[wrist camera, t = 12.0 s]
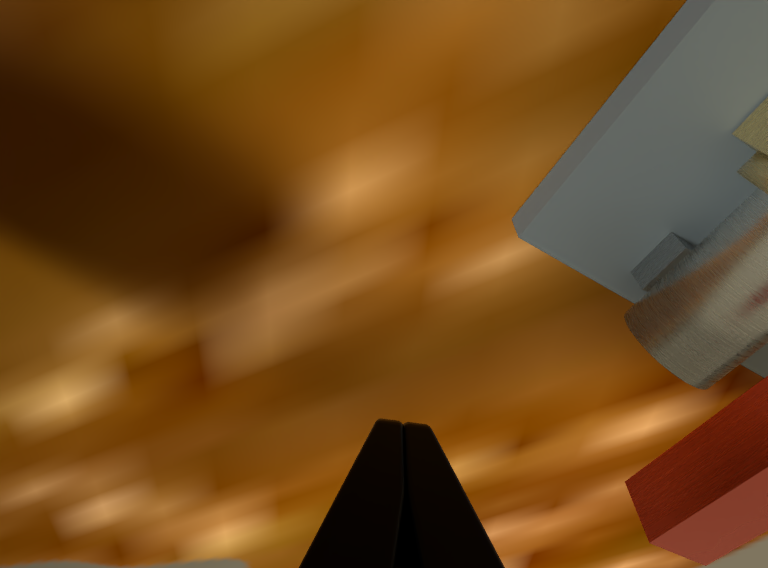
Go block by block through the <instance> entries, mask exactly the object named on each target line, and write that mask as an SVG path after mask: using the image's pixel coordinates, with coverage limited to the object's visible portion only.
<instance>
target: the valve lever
mask: <svg viewBox="0 0 768 568" xmlns="http://www.w3.org/2000/svg"><path fill="white" fill-rule="evenodd" d="M625 483H626V486H627V488H628V491H629V493H630V496H631V498H632V501H633V503H634V506H635V508H636V511H637V513H638V516H639V518H640V521H641V523H642V526H643V528H644V531H645V533H646V536H647V538H648V541H649V543H651V544H653V545H656V546H658V547H661V548H663V549H666V550H668V551H671V552H673V553H676V554H678V555H681V556H683V557H685V558H688V559H690V560H693V561H695V562H698V563H700V564H703V565H705V566H706V565H708V564H710V563H711V562H713V561H715V560H717V559H718V558H720V557H722V556H724V555H725V554H727V553H729V552H731V551H732V550H734V549H736V548H738V547H739V546H741V545H743V544H745V543H746V542H748V541H750V540H752V539H754V538H755V537H757V536H759V535H761V534H762V533H764V532H766V531H768V376H767V377H765V378H764V379H762V380H761V381H760V382H758V383H757V384H756V385H754V386H753V387H752V388H750V389H749V390H748V391H746V392H745V393H744V394H742V395H741V396H740V397H738V398H737V399H736V400H734V401H733V402H732V403H730V404H729V405H727V406H726V407H725V408H723V409H722V410H721V411H719V412H718V413H717V414H715V415H714V416H713V417H711V418H710V419H709V420H707V421H706V422H705V423H703V424H702V425H701V426H699V427H698V428H697V429H695V430H694V431H693V432H691V433H690V434H688V435H687V436H686V437H684V438H683V439H682V440H680V441H679V442H678V443H676V444H675V445H674V446H672V447H671V448H670V449H668V450H667V451H666V452H664V453H663V454H662V455H660V456H659V457H658V458H656V459H655V460H653V461H652V462H651V463H649V464H648V465H647V466H645V467H644V468H643V469H641V470H640V471H639V472H637V473H636V474H635V475H633V476H632V477H631V478H629V479H628V480H627V481H625Z"/></svg>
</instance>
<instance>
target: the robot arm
mask: <svg viewBox="0 0 768 568" xmlns="http://www.w3.org/2000/svg"><path fill="white" fill-rule="evenodd" d="M299 568H505V567H504V565H503V564H502V562H501V560H500V558H499V556H498V554H497V552H496V550H495V548H494V547H493V545H492V543H491V541H490V539H489V537H488V535H487V533H486V531H485V529H484V528H483V526H482V524H481V522H480V520H479V518H478V516H477V514H476V512H475V510H474V509H473V507H472V505H471V503H470V501H469V499H468V497H467V495H466V493H465V491H464V490H463V488H462V486H461V484H460V482H459V480H458V478H457V476H456V474H455V472H454V471H453V469H452V467H451V465H450V463H449V461H448V459H447V457H446V455H445V453H444V452H443V450H442V448H441V446H440V444H439V442H438V440H437V438H436V436H435V434H434V433H433V431H432V429H431V428H430V426H428V425H426V424H419V423H412V422H406V423H404V424H402V423H401V422H400V421H396V420H388V419H378V420H377V421H376V422H375V424H374V426H373V428H372V430H371V431H370V433H369V435H368V437H367V439H366V441H365V443H364V445H363V447H362V449H361V450H360V452H359V454H358V456H357V458H356V460H355V462H354V464H353V466H352V468H351V469H350V471H349V473H348V475H347V477H346V479H345V481H344V483H343V485H342V487H341V488H340V490H339V492H338V494H337V496H336V498H335V500H334V502H333V504H332V506H331V508H330V509H329V511H328V513H327V515H326V517H325V519H324V521H323V523H322V525H321V527H320V528H319V530H318V532H317V534H316V536H315V538H314V540H313V542H312V544H311V546H310V547H309V549H308V551H307V553H306V555H305V557H304V559H303V561H302V563H301V565H300V566H299Z"/></svg>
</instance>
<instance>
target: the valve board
mask: <svg viewBox="0 0 768 568" xmlns="http://www.w3.org/2000/svg"><path fill="white" fill-rule="evenodd" d="M767 97H768V0H687V1H686V3H685V4H684V5H683V6H682V8H681V9H680V10H679V11H678V13H677V14H676V15H675V16H674V18H673V19H672V20H671V21H670V23H669V24H668V25H667V26H666V27H665V29H664V30H663V31H662V32H661V34H660V35H659V36H658V37H657V39H656V40H655V41H654V42H653V44H652V45H651V46H650V47H649V49H648V50H647V51H646V52H645V54H644V55H643V56H642V57H641V59H640V60H639V61H638V62H637V64H636V65H635V66H634V67H633V69H632V70H631V71H630V72H629V74H628V75H627V76H626V77H625V79H624V80H623V81H622V82H621V84H620V85H619V86H618V87H617V89H616V90H615V91H614V92H613V94H612V95H611V96H610V97H609V99H608V100H607V101H606V102H605V104H604V105H603V106H602V107H601V109H600V110H599V111H598V112H597V113H596V115H595V116H594V117H593V118H592V120H591V121H590V122H589V123H588V125H587V126H586V127H585V128H584V130H583V131H582V132H581V133H580V135H579V136H578V137H577V138H576V140H575V141H574V142H573V143H572V145H571V146H570V147H569V148H568V150H567V151H566V152H565V153H564V155H563V156H562V157H561V158H560V160H559V161H558V162H557V163H556V165H555V166H554V167H553V168H552V170H551V171H550V172H549V173H548V175H547V176H546V177H545V178H544V180H543V181H542V182H541V183H540V185H539V186H538V187H537V188H536V190H535V191H534V192H533V193H532V194H531V196H530V197H529V198H528V199H527V201H526V202H525V203H524V204H523V206H522V207H521V208H520V209H519V211H518V212H517V213H516V214H515V216H514V217H513V218H512V221H513V224H514V227H515V229H516V232H517V235H518V237H519V238H521V239H522V240H524V241H526V242H528V243H529V244H531V245H533V246H534V247H536V248H538V249H540V250H541V251H543V252H545V253H547V254H548V255H550V256H552V257H554V258H555V259H557V260H559V261H561V262H562V263H564V264H566V265H568V266H569V267H571V268H573V269H575V270H576V271H578V272H580V273H582V274H583V275H585V276H587V277H589V278H590V279H592V280H594V281H596V282H597V283H599V284H601V285H603V286H604V287H606V288H608V289H610V290H611V291H613V292H615V293H617V294H618V295H620V296H622V297H624V298H625V299H627V300H629V301H631V302H632V303H634V304H635V303H636V302H637V301H638V300H640V299H641V298H642V297H643V296H644V295H645V294H646V293H647V292H646V291H644V290H642V289H641V287H640V286H639V284H638V283H637V281H636V280H635V278H634V277H633V275H632V274H631V271H632V270H633V269H634V268H635V267H636V266H637V265H638V264H639V263H640V262H641V261H642V260H643V259H644V258H645V257H646V256H647V255H648V254H649V253H650V252H651V251H652V250H653V249H654V248H655V247H656V246H657V245H658V244H659V243H660V242H661V241H662V240H663V239H664V238H665V237H666V236H667V235H668V234H669V233H670V232H672V233H674V234H676V235H677V236H679V237H680V238H682V239H683V240H685V241H687V242H688V243H690V244H691V245H693V246H695V247H696V246H697V245H698V244H699V243H700V242H701V241H702V240H703V239H704V238H705V237H707V236H708V235H709V234H710V233H711V232H712V231H713V230H714V229H715V228H716V227H717V226H718V225H719V224H720V223H721V222H722V221H724V220H725V219H726V218H727V217H728V216H729V215H730V214H731V213H732V212H733V211H734V210H735V209H736V208H737V207H738V206H739V205H741V204H742V203H743V202H744V201H745V200H746V199H747V198H748V197H749V196H750V195H751V194H752V193H753V192H754V191H755V190H756V189H758V187H757V186H755V185H754V184H752V183H751V182H749V181H748V180H747V179H745V178H744V177H742V176H741V175H740V174H738V173H737V172H736V171H738V170H739V169H740V168H741V167H742V166H743V165H744V164H745V163H746V162H747V161H748V160H749V159H750V158H751V157H752V156H753V155H754V154H755V153H756V151H755V150H753V149H752V148H750V147H749V146H748V145H746V144H745V143H744V142H742V141H741V140H739V139H738V138H737V137H735V136H734V135H733V134H732V133H733V132H734V131H735V130H736V129H737V128H738V127H739V126H740V125H741V124H742V123H743V122H744V121H745V120H746V119H747V118H748V116H749V115H750V114H751V113H752V112H753V111H754V110H755V109H756V108H757V107H758V106H759V105H760V104H761V103H762V102H763V101H764V100H765V99H766V98H767ZM741 365H743V366H744V367H746V368H748V369H750V370H751V371H753V372H755V373H757V374H758V375H760V376H762V377H764V378H765V377H767V376H768V343H767V344H766V345H765V346H763V347H762V348H761V349H759V350H758V351H757V352H755V353H754V354H753V355H751V356H750V357H749V358H747V359H746V360H745V361H744V362H742V363H741Z"/></svg>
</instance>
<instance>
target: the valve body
mask: <svg viewBox="0 0 768 568" xmlns="http://www.w3.org/2000/svg"><path fill="white" fill-rule="evenodd" d="M732 134H733V135H734V136H735V137H737V138H738V139H739V140H741V141H742V142H744V143H745V144H746V145H748V146H749V147H750V148H752V149H753V150H755V151H756V153H755V154H754V155H753V156H752V157H751V158H750V159H749V160H748V161H747V162H746V163H745V164H744V165H743V166H742V167H741V168H740V169H739V170H738V171H736V172H737V173H738V174H740V175H741V176H742V177H744V178H745V179H747V180H748V181H749V182H751V183H752V184H754V185H755V186H757V187H758V189H756V190H755V191H754V192H753V193H752V194H751V195H750V196H749V197H748V198H747V199H746V200H745V201H744V202H743V203H742V204H741V205H739V206H738V207H737V208H736V209H735V210H734V211H733V212H732V213H731V214H730V215H729V216H728V217H727V218H726V219H725V220H724V221H722V222H721V223H720V224H719V225H718V226H717V227H716V228H715V229H714V230H713V231H712V232H711V233H710V234H709V235H708V236H707V237H705V238H704V239H703V240H702V241H701V242H700V243H699V244H698V245H697V246H696V247H695V246H693V245H691V244H690V243H688V242H687V241H685V240H683V239H682V238H680V237H679V236H677V235H676V234H674V233H672V232H670V233H669V234H668V235H667V236H666V237H665V238H664V239H663V240H662V241H661V242H660V243H659V244H658V245H657V246H656V247H655V248H654V249H653V250H652V251H651V252H650V253H649V254H648V255H647V256H646V257H645V258H644V259H643V260H642V261H641V262H640V263H639V264H638V265H637V266H636V267H635V268H634V269H633V270H632V271H631V274H632V275H633V277H634V278H635V280H636V281H637V283H638V284H639V286H640V287H641V289H642V290H644V291H646V292H647V293H646V294H645V295H644V296H643V297H642V298H641V299H640V300H638V301H637V302H636V303H635V304H634V305H633V306H632V307H631V308H630V309H629V310H628V311H627V312H626V313H625V316H624V317H625V321H626V323H627V325H628V327H629V329H630V331H631V332H632V333H633V335H634V336H635V337H636V339H637V340H638V341H639V342H640V344H641V345H642V346H643V347H644V348H645V349H646V350H647V351H648V352H649V353H650V354H651V355H652V356H653V357H654V358H655V359H656V360H657V361H658V362H659V363H660V364H662V365H663V366H664V367H665V368H666V369H668V370H669V371H670V372H671V373H673V374H674V375H676V376H677V377H678V378H680V379H681V380H683V381H685V382H686V383H688V384H690V385H692V386H694V387H696V388H699V389H708V388H709V387H711V386H712V385H713V384H715V383H716V382H717V381H719V380H720V379H721V378H723V377H724V376H725V375H726V374H728V373H729V372H730V371H732V370H733V369H734V368H736V367H737V366H738V365H740V364H741V363H742V362H744V361H745V360H746V359H747V358H749V357H750V356H751V355H753V354H754V353H755V352H757V351H758V350H759V349H761V348H762V347H763V346H765V345H766V344H767V343H768V97H767V98H766V99H765V100H764V101H763V102H762V103H761V104H760V105H759V106H758V107H757V108H756V109H755V110H754V111H753V112H752V113H751V114H750V115H749V116H748V118H747V119H746V120H745V121H744V122H743V123H742V124H741V125H740V126H739V127H738V128H737V129H736V130H735V131H734V132H733V133H732Z"/></svg>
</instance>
